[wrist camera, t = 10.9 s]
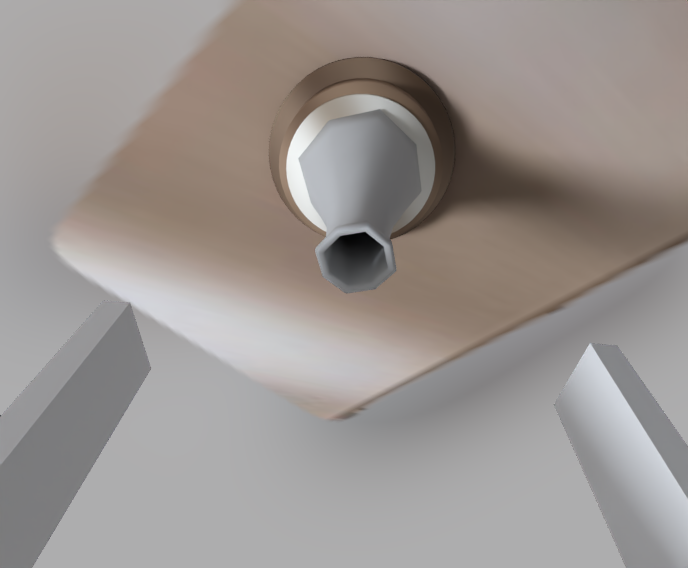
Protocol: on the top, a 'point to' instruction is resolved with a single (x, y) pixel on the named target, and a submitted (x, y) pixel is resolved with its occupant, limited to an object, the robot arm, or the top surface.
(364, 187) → the flask
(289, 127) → the pedestal
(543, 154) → the top surface
